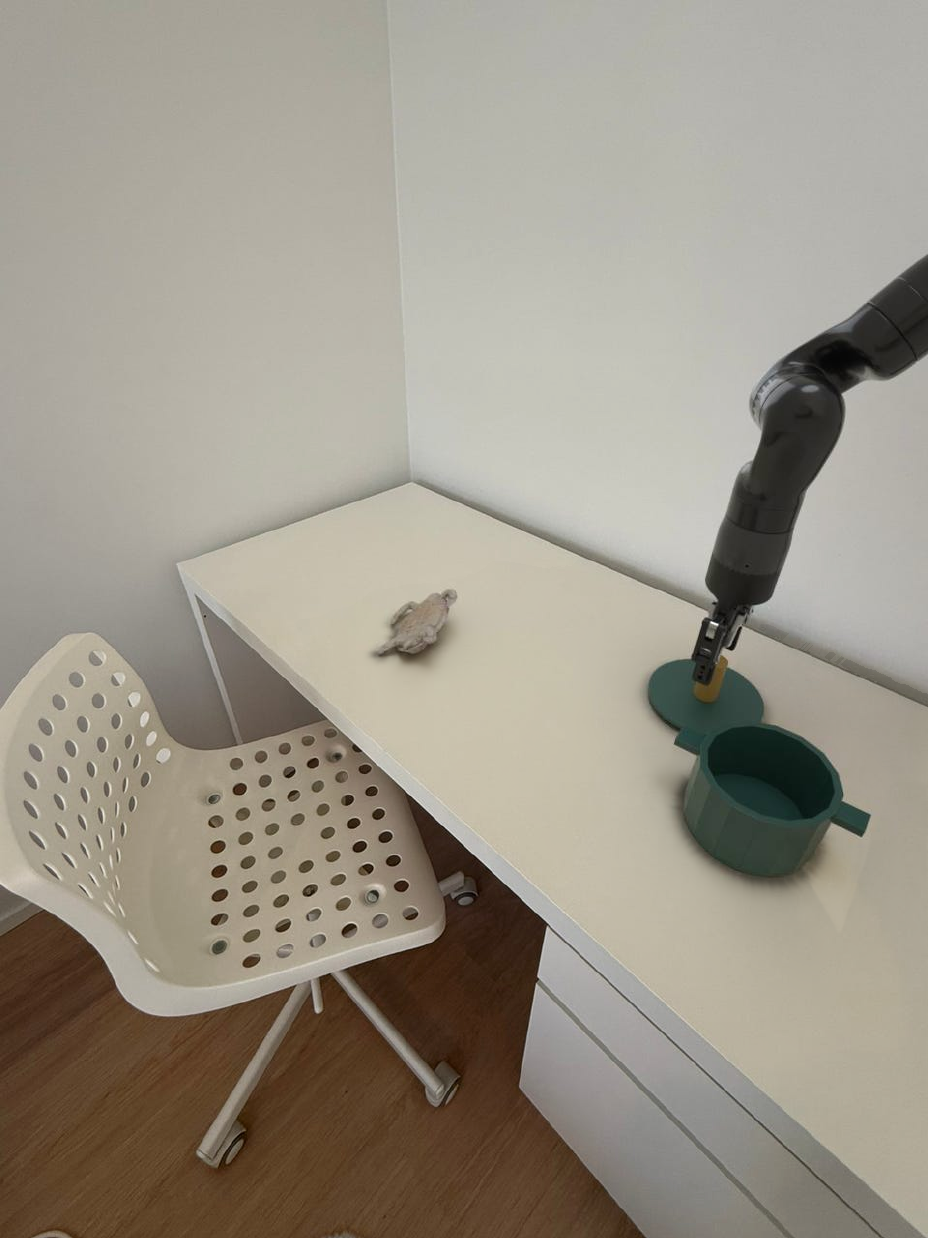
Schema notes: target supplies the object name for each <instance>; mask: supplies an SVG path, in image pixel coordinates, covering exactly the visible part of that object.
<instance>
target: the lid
mask: <svg viewBox="0 0 928 1238" xmlns="http://www.w3.org/2000/svg"><path fill="white" fill-rule="evenodd" d="M719 659H720V661H719V662H718V663H717V666H716V669H715V672H714V675H713V678H712V681H711V683H710V684H709V685H708V686H705V685H703V684H700V683H698V682H696V681H694V680H693V679H692V675H693V671H694V668H695V665H696V662H694V661H692V660H691V658H681V659H676V660H675V659H674V660H672V661H671V660H670V661H668V662H665V663H664V664H662V665H660V666H659V667H657V668H656V669H655V670H654V671H653V673H652V674H651V676H650V678H649V680H648V685H647V694H648V698H649V700H650V703H651V705H652V707H653V708H654V709H655V711H656V712H657V714H659V715H660V716H661V717H662V718H663V720H664V719H665V721H667V722H668V723H669V724H671V725H672V726H674V727H675V728H677V729H679V730H681V729H682V728H683V727H684V726H685V727H688V728H690V729H692V730H694V731H696V732H698V733H700V734H702V735H704V736H707V735H708V733H709V732H710V731H712V730H714V729H716V728H718V727H720V726H722V725H724V724H726V723H730V722H741V721H755V722H760V723H762V719H763V717H764V712H765V705H764V704H765V703H764V700H763V697H762V695H761V693H760V692H759V690H758V688H757V687H756V686H755V685H754V683H752V682H751V681H750V680H749V679H747V677H745V676H744V675H743V674H741V673H739V672H738V671H736V670H734V669H732V668H730V667H728V666H729V661H728V659H727V658H726V657H725V656H724V655H722V654H721V656H720V658H719Z"/></svg>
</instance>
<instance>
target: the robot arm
mask: <svg viewBox="0 0 928 1238" xmlns="http://www.w3.org/2000/svg"><path fill="white" fill-rule="evenodd" d="M927 356H928V253H927V254H925V255H924V256H922V257H921V258H919V259H918V260H917V261H915V262H914V263H913V264H911V265H910V266H909V267H907V268H906V269H905V270H903V271H902V273H901V272H900V274H899V275H897V276H896V277H894V279H892V280H891V281H890V282H889V283H888V284H887V285H885V286H884V287H882V288H881V289H880V290H879V291H878V292H877V293H875V294H874V295H873V296H872V297H870V298H869V299H868V300H867V301H866V302H865V303H863V304H862V305H861V306H859V308H857V309H856V311H854V312H853V313H852V314H851V315H850V316H848V317H847V318H845V319H844V320H842V321H840V322H839V323H836V324H834V325H833V326H831V327H829V328H827V329H826V330H824V331H821V332H820V333H818V334H817V335H816V336H814V337H812V338H810V339H808V340H807V341H806V342H804V343H802V344H801V345H799V346H797V347H796V348H794V349H793V350H791V351H789V352H788V353H786V354H785V355H783V356H782V357H781V358H779V359H778V360H777V361H776V362H774V363H773V364H772V365H771V366H769V367H768V369H766V371H765V372H764V373H763V374H762V375H761V376H760V377H759V378H758V380H757V381H756V382H755V384H754V386H753V388H752V389H751V393H750V395H749V399H748V410H749V414H750V417H751V418H752V421H753V422H754V423H755V426H757V428H758V429H759V430H760V437H759V438H760V439H759V442H758V446H757V449H756V451H755V454H754V456H753V459H752V460H749V461H748V462H746V463H745V464H743V465H742V466H741V467H740V469H739V470H738V472H737V474H736V477H735V479H734V483H733V486H732V490H731V492H730V496H729V500H728V504H727V507H726V511H725V514H724V516H723V519H722V521H721V522H720V525H719V528H718V531H717V534H716V537H715V542H714V544H713V548H712V552H711V555H710V559H709V563H708V567H707V569H706V573H705V577H704V583H705V586H706V588H707V590H708V591H709V592H710V594H712V595H713V596H714V597H715V599H716V600H713V601H712V602H711V605H710V607H708V611H707V614H708V616H706V617H704V618H703V619H702V620H701V622H700V623H701V626H700V627H699V632H698V634H697V638H696V641H695V645H694V648H693V651H692V653H691V656H690V657H691V658H690V659H691V660H692V661H694V662H696V665H695V668H694V671H693V675H692V679H693V680H694V681H696V682H698V683H700V684H703V685H705V686H708V685H709V684H710V683H711V681H712V678H713V675H714V672H715V669H716V666H717V663H718V662H719V661H720V659H719V658H720V656H721V655H722V654H723V652H724V650H728V651H731V652H732V651H734V650H735V649H736V647H737V645H738V642H739V639H740V636H741V634H742V631H743V627H745V625H747V623H748V622H749V620H750V618H751V616H752V614H753V613H754V608H755V606H759V605H763V604H765V603H767V602H768V601H770V600H771V598H772V597H773V595H774V593H775V590H776V588H777V585H778V582H779V579H780V577H781V573H782V570H783V568H784V566H785V562H786V559H787V557H788V554H789V551H790V548H791V545H792V540H793V535H794V531H795V526H796V524H797V521H798V518H799V516H800V512H801V510H802V506H803V504H804V501H805V498H806V495H807V491H808V490H809V488H810V487H811V485H812V484H813V483H814V482H815V480H816V478H817V477H818V476H819V475H820V472H821V471H822V469H823V467H824V466H825V465H826V463H827V461H828V460H829V458H830V457H831V455H832V453H833V452H834V450H835V448H836V446H837V444H838V442H839V440H840V438H841V434H842V432H843V428H844V425H845V420H846V401H845V398H844V395H843V394H844V393H846V392H847V391H849V390H851V389H853V388H854V387H856V386H858V385H860V384H861V383H863V382H866V381H876V382H886V381H887V382H888V381H890V380H892V379H894V378H896V377H898V376H900V375H902V374H903V373H904V372H906V371H908V370H909V369H910V368H912V367H913V366H915V364H917V363H918V362H920V361H921V360H923V359H924V358H925V357H927Z"/></svg>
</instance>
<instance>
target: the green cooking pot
mask: <svg viewBox="0 0 928 1238" xmlns="http://www.w3.org/2000/svg"><path fill="white" fill-rule="evenodd" d="M673 745H674V746H676V747H678V748H680V749H683V750H684V751H686V752H688V753H690V754H692V755H694V756H696V758H695V761H694V764H693V767H692V770H691V773H690V776H689V779H688V782H687V786H686V788H685V792H684V799H683V814H684V817H685V821H686V824H687V827H688V829H689V830H690V832H691V834H692V835H693V837H694V838H695V840H696V841H697V842H698V843H699V845H700V846H701V847H702V848H703V849H704V850H705V851H706V852H707V853H708V854H710V855H711V856H712V857H714V859H715V860H718V861H719V862H720V863H723V864H724V865H726V866H728V867H730V868H732V869H734V870H737V871H739V872H741V873H744V874H749V875H751V876H757V877H765V878H766V877H767V878H778V877H783V876H788V875H791V874H794V873H796V872H797V871H799V870H801V869H802V868H804V867H805V866H806V865H807V864H808V863H809V862H810V861H812V858H813V857H814V855H815V853H816V851H817V850H818V848H819V846H820V845H821V842H822V841H823V838H824V837H825V835H826V833H827V832H828V830H829V829H830V827H831V825H832V824H834V825H836V826H837V827H840V828H842V829H844V830H845V831H847V832H850V833H852V834H853V835H856V836H858V837H860V838H863V836H864V835H865V833H866V831H867V829H868V825H869V822H870V820H871V816H872V814H870V813H869V812H866V811H864V810H862V809H860V808H859V807H856V806H854V805H852V804H850V803H847V802H845V801H844V800H843V799H844V795H845V794H844V790H843V786H842V785H843V784H842V781H841V776H840V773H839V772H838V770H837V769H836V768H835V766H834V765H833V764H832V762H831V761H830V759H829V758H828V756H827V755H826V754H825V752H823V751H821V750H820V749H819V748H818V747H817V746H815V745H814V744H813V743H811V742H810V741H809V740H807V739H806V738H804V737H803V736H801V735H799V734H797V733H794V732H792V731H790V730H788V729H786V728H784V727H781V726H779V725H776V724H770V723H767V722H766V723H765V722H755V721H741V722H730V723H726V724H724V725H722V726H720V727H718V728H716V729H714V730H712V731H710V732H709V733H708V735H707V736H704V735H702V734H700V733H698V732H696V731H694V730H692V729H690V728H688V727H685V726H684V727H683V728H682V729H680V730H679V732H678V734H677V735H676V736H675V738H674V741H673Z"/></svg>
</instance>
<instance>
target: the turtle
mask: <svg viewBox="0 0 928 1238" xmlns="http://www.w3.org/2000/svg"><path fill="white" fill-rule="evenodd" d="M457 600H458V593H457V591H456V590H455V589H452V588H447V589H445V590H443V591H442V593H439V592H432V593H431V594H429V596H427V597H426V598H425V599H424V600H423V601H421V602H420V603H417V602H416V601H413V600H410V601H408V602H407V603H405V604H404V605H402V606H401V607H400V608H399V610H398V611H396V612H395V613H394V615H392V620H391V621H390V623H391V625H394V624H395V623H396V622H397V620H398V618H401V616H403V615H404V614H406V613H407V612H408V611H410V610H411V612H410V613H409V614H408V615H406V616H405V618H404V619H403V620H402V623H400V626H399V627H398V630H397V632H396V635H395V637H394V638H391V639H390V640H389V641H387V642H385V643H384V644H382V645H381V646H380V648H379V649H378V655H381V654H384V653H385V651H388V650H389V649H391V648H394V647H396V648H397V651H400V652H404V653H408V654H413V655H414V654H418V653H419V652H422V651H424V649H426V648H427V647H428V645H431V644H433V643H436V641H437V639H438V637H437V634H439V632H440V630H441V628H442V627H443V625H445V623H446V621H447V619H448V616H449V612H450V607H451V606H452V605H453V604H456V602H457Z"/></svg>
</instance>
